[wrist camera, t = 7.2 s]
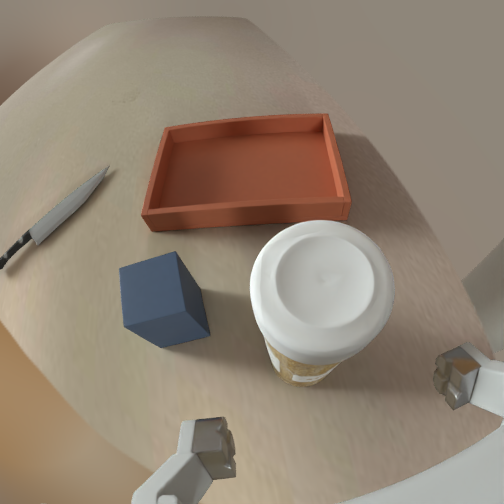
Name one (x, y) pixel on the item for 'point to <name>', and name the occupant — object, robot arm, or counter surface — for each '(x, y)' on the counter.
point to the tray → (247, 173)
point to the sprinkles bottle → (319, 297)
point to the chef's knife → (56, 216)
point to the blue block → (162, 301)
